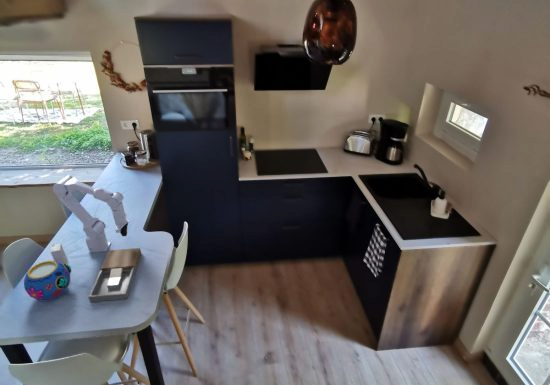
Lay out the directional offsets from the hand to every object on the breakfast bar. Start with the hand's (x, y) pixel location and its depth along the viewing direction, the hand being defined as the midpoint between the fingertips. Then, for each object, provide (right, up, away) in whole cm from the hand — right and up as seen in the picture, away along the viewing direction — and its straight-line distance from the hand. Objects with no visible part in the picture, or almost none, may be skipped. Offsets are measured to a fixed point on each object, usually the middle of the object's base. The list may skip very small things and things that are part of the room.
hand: (124, 235), depth 180 cm
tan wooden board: (+2, -14, -6) cm, 15 cm away
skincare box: (-28, -15, -8) cm, 33 cm away
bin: (+4, -22, -19) cm, 30 cm away
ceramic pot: (-23, -24, -23) cm, 41 cm away
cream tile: (+3, -18, -14) cm, 23 cm away
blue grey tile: (+4, -20, -20) cm, 28 cm away
